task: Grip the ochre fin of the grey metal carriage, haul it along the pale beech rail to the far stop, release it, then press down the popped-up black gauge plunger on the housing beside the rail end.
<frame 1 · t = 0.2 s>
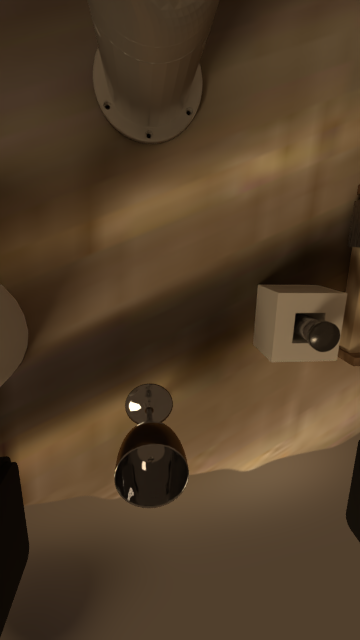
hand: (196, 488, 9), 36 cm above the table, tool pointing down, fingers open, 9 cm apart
wine glass: (149, 404, 48), on the table
plunger: (310, 329, 40), point 7 cm above the table, slide at 0.0 cm
housing: (284, 315, 47), on the table
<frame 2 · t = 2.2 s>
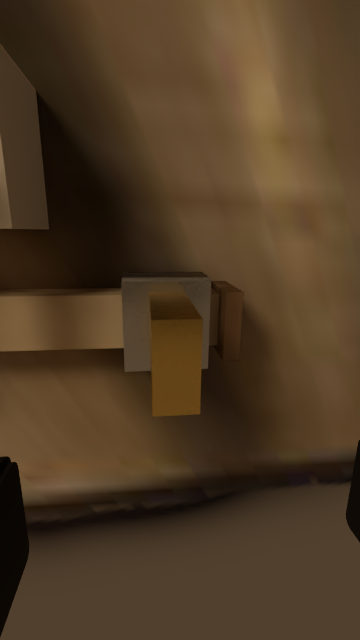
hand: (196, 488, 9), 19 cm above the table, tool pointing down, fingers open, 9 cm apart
carriage: (168, 335, 20), point 6 cm above the table, slide at -7.0 cm
rail: (76, 313, 26), on the table
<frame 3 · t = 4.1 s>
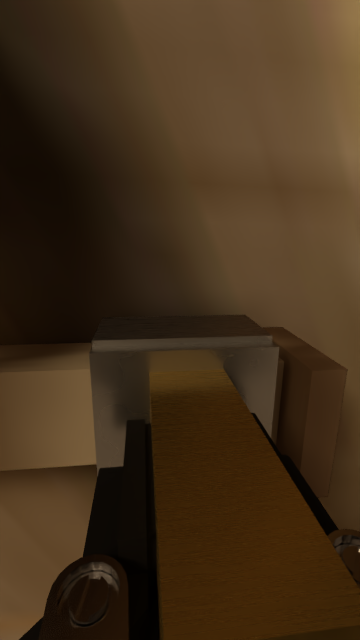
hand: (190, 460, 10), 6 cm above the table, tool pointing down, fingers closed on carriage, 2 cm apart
carriage: (194, 475, 9), point 6 cm above the table, slide at -7.0 cm, touching gripper
rail: (18, 386, 14), on the table
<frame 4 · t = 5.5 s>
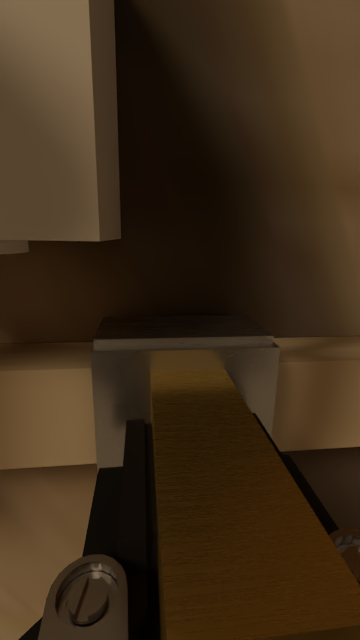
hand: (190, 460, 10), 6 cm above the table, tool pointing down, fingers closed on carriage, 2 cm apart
carriage: (194, 475, 9), point 6 cm above the table, slide at -0.8 cm, touching gripper
rail: (157, 380, 15), on the table
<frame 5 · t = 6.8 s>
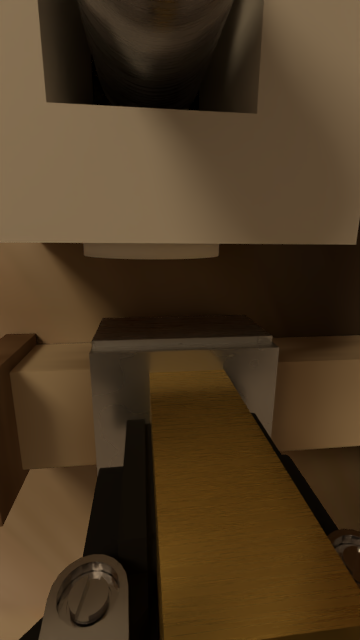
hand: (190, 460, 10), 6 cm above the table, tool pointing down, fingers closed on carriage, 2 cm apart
carriage: (194, 475, 9), point 6 cm above the table, slide at 5.0 cm, touching gripper
housing: (147, 119, 12), on the table
rail: (273, 376, 16), on the table
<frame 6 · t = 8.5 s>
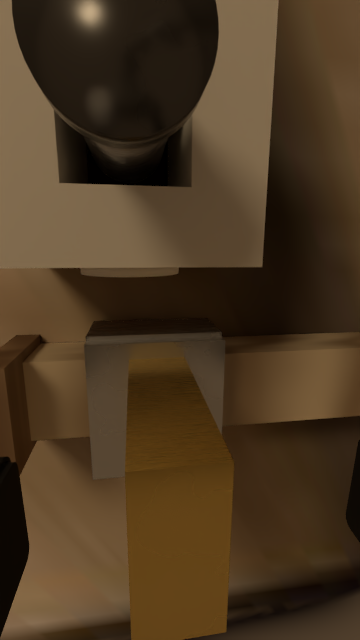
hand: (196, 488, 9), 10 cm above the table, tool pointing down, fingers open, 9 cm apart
carriage: (161, 432, 13), point 6 cm above the table, slide at 5.0 cm
plunger: (124, 106, 9), point 7 cm above the table, slide at 0.0 cm
housing: (128, 168, 16), on the table
rail: (233, 368, 19), on the table
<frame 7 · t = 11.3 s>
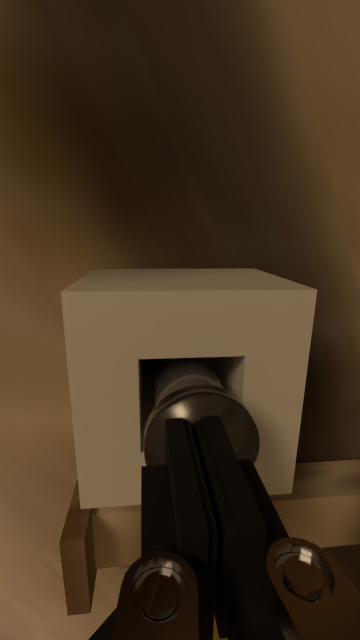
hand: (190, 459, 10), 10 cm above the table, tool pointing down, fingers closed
carriage: (205, 593, 16), point 6 cm above the table, slide at 5.0 cm
plunger: (188, 395, 13), point 6 cm above the table, slide at -1.2 cm, touching gripper
housing: (175, 344, 19), on the table
rail: (259, 489, 22), on the table
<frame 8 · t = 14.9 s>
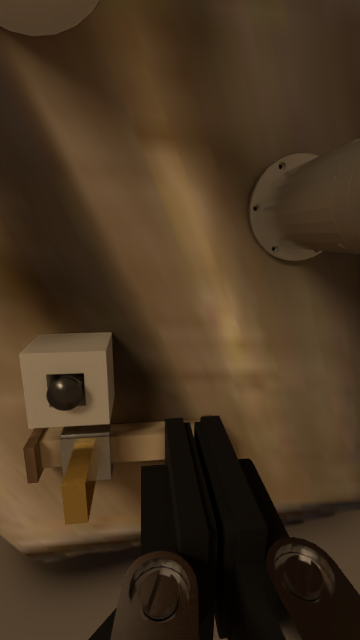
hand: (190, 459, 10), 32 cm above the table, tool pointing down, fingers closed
carriage: (83, 469, 39), point 6 cm above the table, slide at 5.0 cm
plunger: (70, 381, 37), point 5 cm above the table, slide at -2.6 cm
housing: (78, 365, 42), on the table
rail: (127, 435, 46), on the table
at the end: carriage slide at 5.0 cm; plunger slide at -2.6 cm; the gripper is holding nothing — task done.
